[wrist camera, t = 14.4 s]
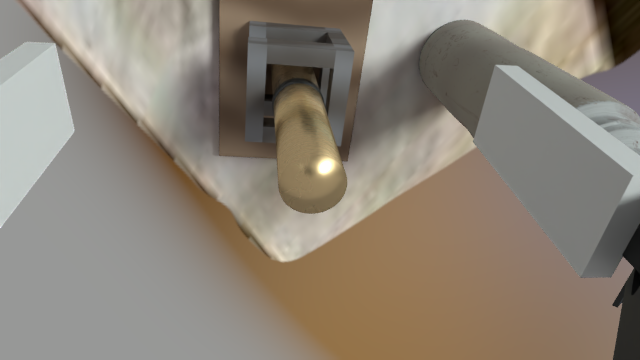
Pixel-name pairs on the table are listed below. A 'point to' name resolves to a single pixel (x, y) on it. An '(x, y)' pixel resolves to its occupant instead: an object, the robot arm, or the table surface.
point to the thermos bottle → (492, 49)
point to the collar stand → (287, 49)
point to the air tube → (305, 142)
